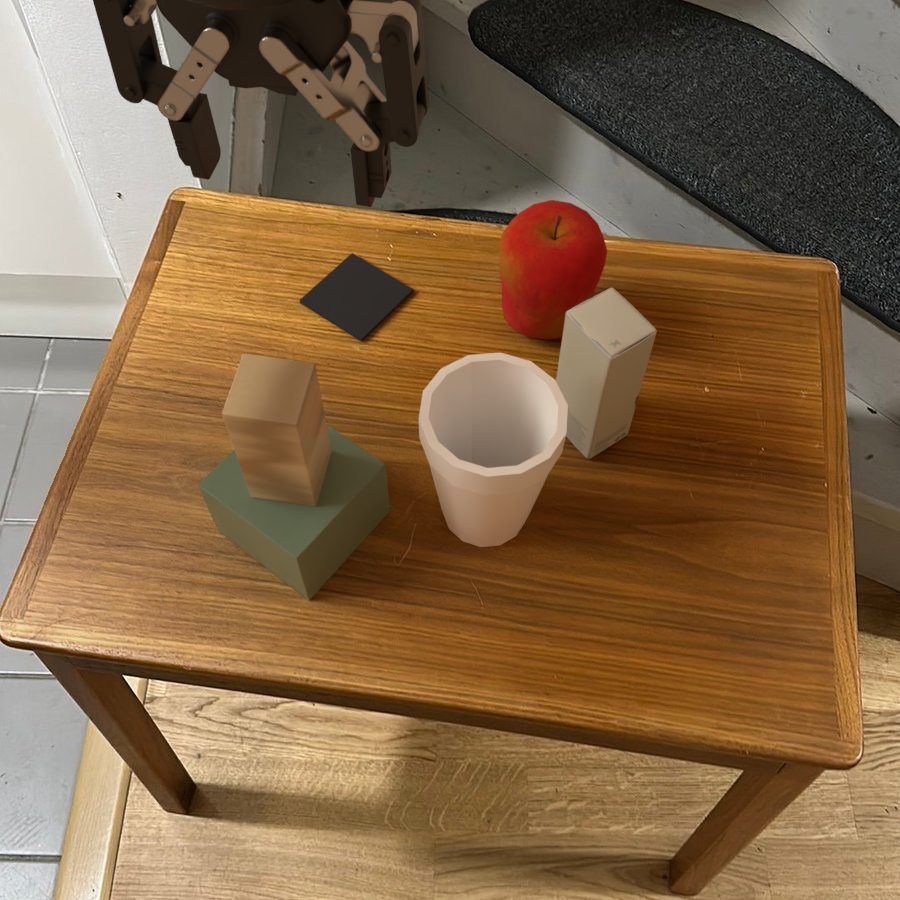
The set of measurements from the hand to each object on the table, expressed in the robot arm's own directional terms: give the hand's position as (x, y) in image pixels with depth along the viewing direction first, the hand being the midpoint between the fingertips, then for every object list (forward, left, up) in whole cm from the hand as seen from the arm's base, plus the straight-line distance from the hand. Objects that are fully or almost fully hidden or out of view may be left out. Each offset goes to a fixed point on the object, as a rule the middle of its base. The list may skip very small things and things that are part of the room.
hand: (288, 181), depth 47 cm
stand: (+1, -5, -28) cm, 29 cm away
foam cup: (+11, +4, -29) cm, 31 cm away
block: (+1, -5, -21) cm, 22 cm away
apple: (+4, +22, -29) cm, 36 cm away
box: (+13, +15, -29) cm, 35 cm away
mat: (-10, +14, -28) cm, 33 cm away
